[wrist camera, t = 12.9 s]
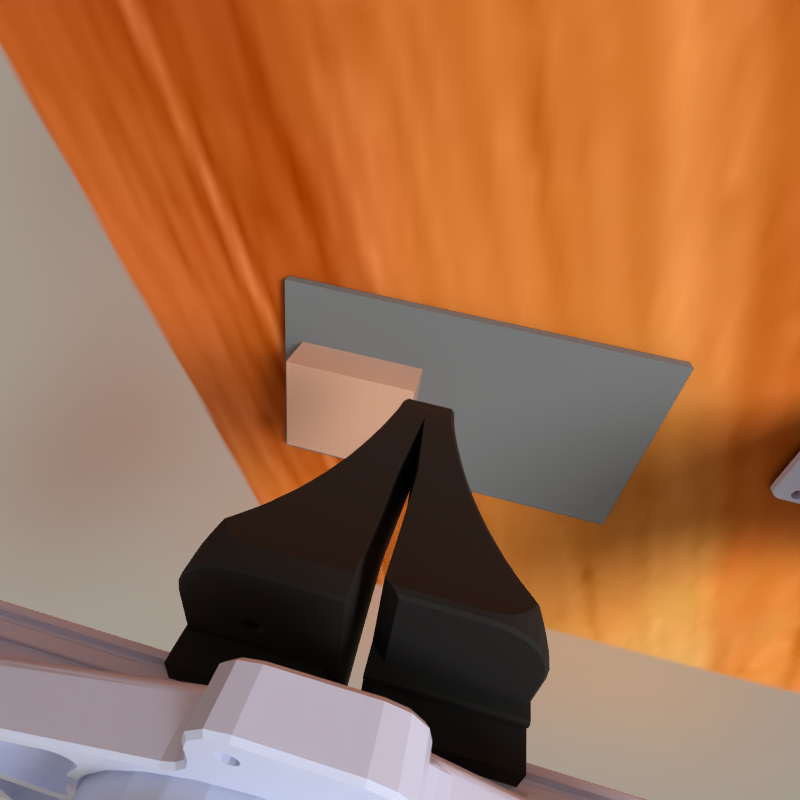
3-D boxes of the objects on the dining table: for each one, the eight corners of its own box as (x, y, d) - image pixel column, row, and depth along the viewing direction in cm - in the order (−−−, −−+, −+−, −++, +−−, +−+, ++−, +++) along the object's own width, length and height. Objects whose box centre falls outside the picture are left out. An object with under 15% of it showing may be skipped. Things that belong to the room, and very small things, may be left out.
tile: (414, 391, 21) (286, 361, 22) (399, 472, 24) (287, 443, 25) (422, 369, 23) (302, 341, 23) (408, 447, 26) (301, 421, 26)
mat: (690, 362, 20) (693, 368, 20) (601, 517, 26) (602, 524, 26) (289, 275, 22) (284, 279, 22) (290, 439, 28) (286, 444, 27)
